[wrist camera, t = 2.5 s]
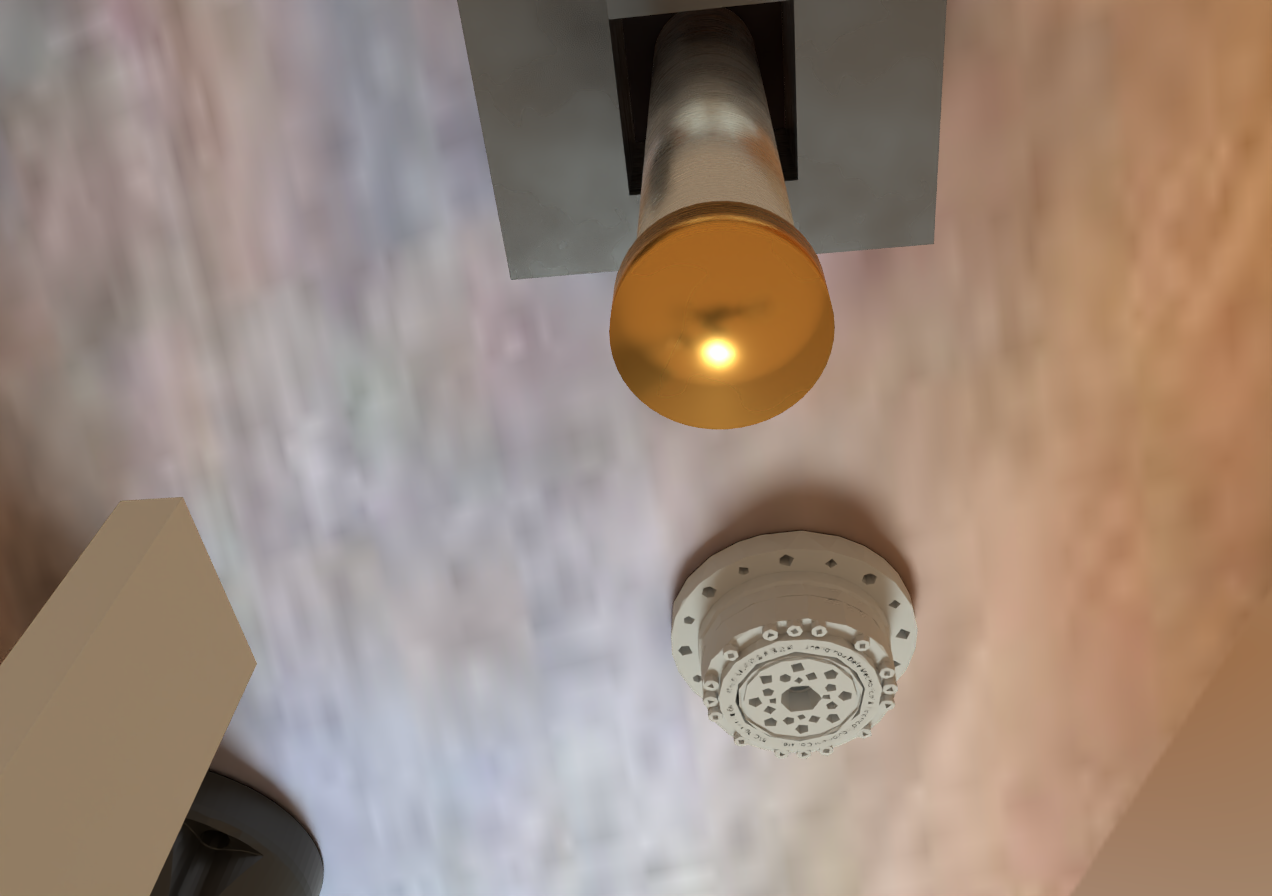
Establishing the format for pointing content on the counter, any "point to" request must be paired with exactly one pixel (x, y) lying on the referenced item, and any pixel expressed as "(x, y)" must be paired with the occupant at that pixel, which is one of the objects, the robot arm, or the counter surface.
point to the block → (613, 161)
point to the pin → (716, 244)
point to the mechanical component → (794, 640)
